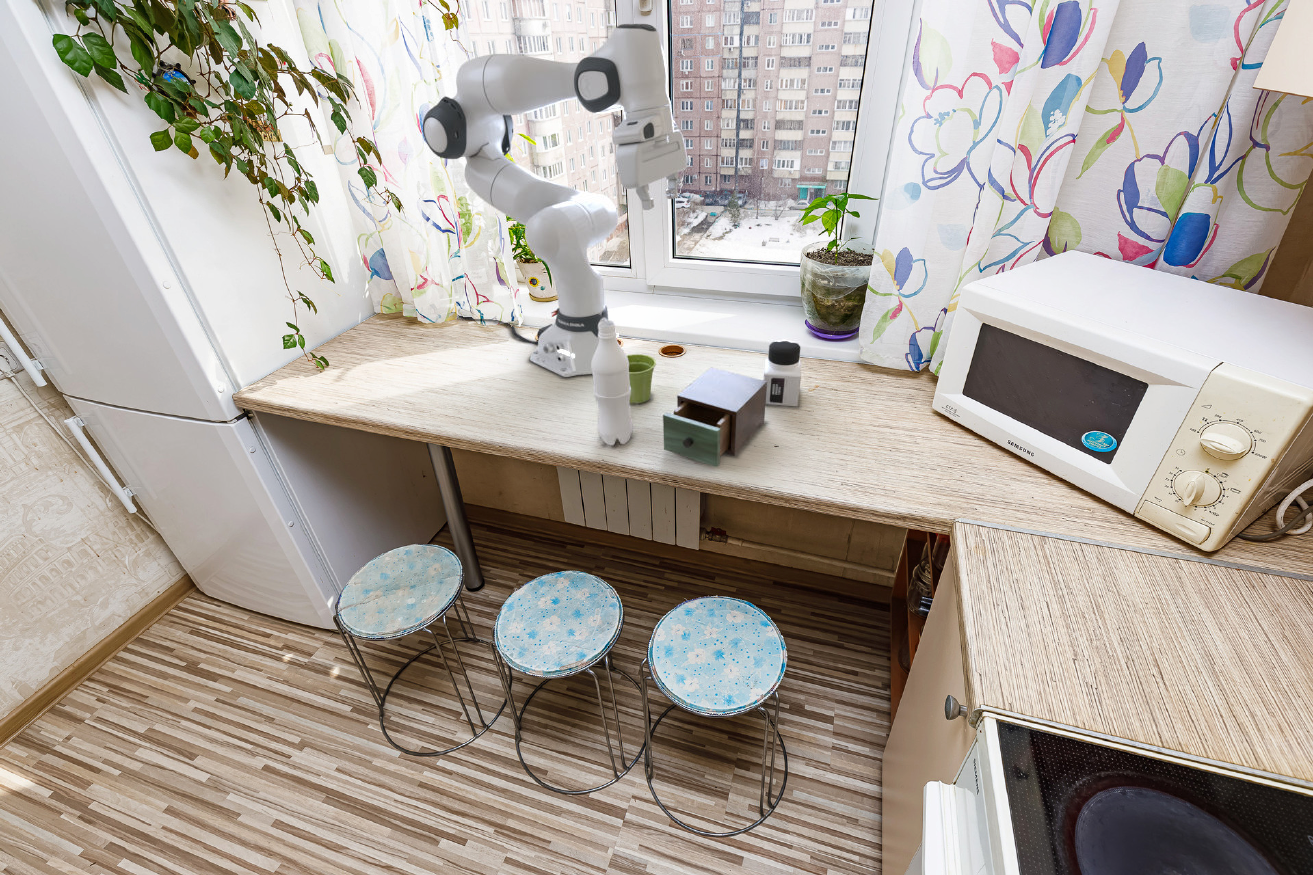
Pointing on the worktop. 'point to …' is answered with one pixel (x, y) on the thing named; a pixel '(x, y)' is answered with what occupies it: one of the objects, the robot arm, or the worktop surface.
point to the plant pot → (640, 377)
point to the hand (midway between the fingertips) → (660, 203)
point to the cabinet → (730, 401)
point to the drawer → (697, 433)
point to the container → (783, 373)
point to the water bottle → (611, 386)
